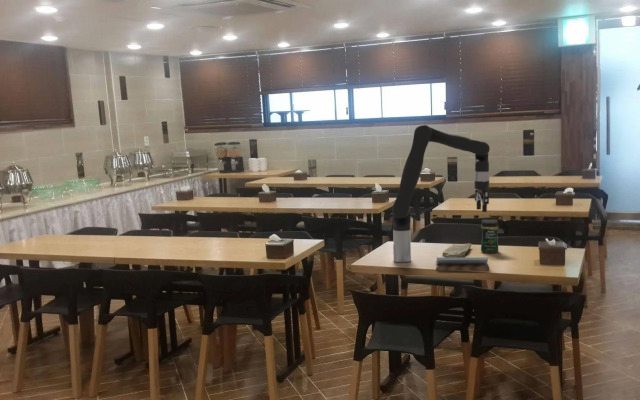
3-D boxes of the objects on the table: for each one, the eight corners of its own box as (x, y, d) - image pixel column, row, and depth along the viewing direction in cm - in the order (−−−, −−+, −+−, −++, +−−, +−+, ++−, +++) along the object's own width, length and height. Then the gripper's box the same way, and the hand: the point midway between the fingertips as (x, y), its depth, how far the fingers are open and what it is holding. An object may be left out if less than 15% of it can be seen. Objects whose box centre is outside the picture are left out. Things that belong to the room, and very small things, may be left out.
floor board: (436, 270, 311) (436, 265, 311) (436, 263, 326) (435, 258, 326) (489, 270, 306) (489, 265, 306) (486, 263, 321) (486, 258, 321)
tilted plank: (437, 259, 312) (436, 257, 312) (437, 264, 319) (437, 261, 319) (487, 259, 307) (487, 257, 308) (486, 264, 314) (486, 261, 315)
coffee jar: (481, 253, 345) (480, 220, 343) (480, 250, 353) (480, 218, 351) (499, 253, 343) (498, 220, 341) (498, 250, 351) (498, 218, 348)
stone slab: (439, 253, 338) (452, 240, 365) (440, 260, 339) (452, 247, 366) (462, 254, 333) (473, 241, 360) (462, 261, 334) (473, 248, 360)
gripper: (470, 178, 328) (470, 208, 330) (479, 181, 314) (479, 212, 316) (484, 178, 329) (483, 208, 331) (493, 181, 315) (493, 212, 317)
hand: (481, 210), depth 324 cm, fingers open, 8 cm apart
